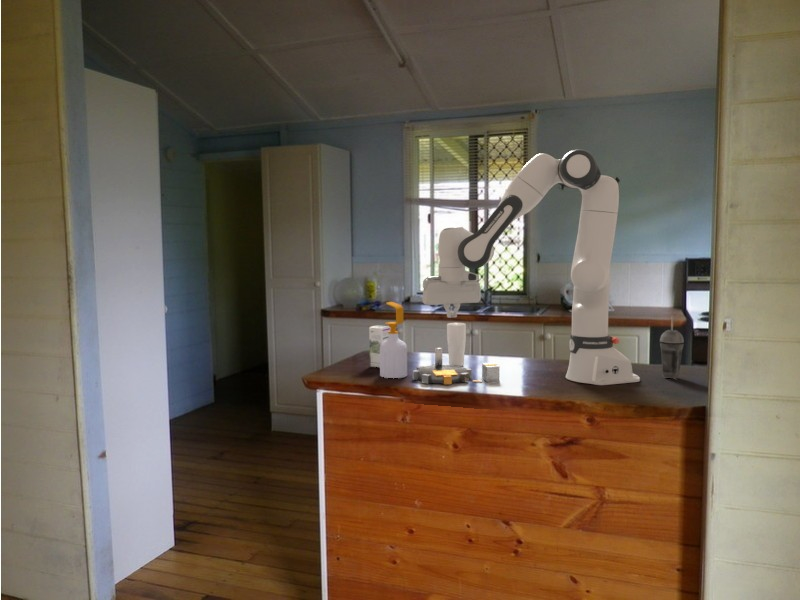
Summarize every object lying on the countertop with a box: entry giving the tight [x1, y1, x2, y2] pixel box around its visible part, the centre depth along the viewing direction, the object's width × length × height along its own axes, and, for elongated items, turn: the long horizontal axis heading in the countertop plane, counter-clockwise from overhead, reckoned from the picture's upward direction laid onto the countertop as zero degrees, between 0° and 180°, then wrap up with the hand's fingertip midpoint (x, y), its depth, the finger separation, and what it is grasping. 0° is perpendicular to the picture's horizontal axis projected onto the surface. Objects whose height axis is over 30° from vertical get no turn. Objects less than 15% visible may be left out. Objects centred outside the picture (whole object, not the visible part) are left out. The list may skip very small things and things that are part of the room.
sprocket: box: [412, 347, 472, 385], centre depth 199 cm, size 19×19×8 cm
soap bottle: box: [379, 301, 408, 380], centre depth 203 cm, size 9×9×25 cm
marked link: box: [481, 362, 500, 383], centre depth 197 cm, size 4×6×5 cm, turn 7°
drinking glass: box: [446, 322, 467, 367], centre depth 219 cm, size 7×7×15 cm
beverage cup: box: [659, 314, 685, 379], centre depth 196 cm, size 7×7×20 cm
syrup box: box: [368, 324, 391, 369], centre depth 219 cm, size 6×6×14 cm
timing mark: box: [471, 379, 484, 383], centre depth 194 cm, size 3×1×1 cm, turn 67°
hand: (451, 317), depth 205 cm, fingers closed
